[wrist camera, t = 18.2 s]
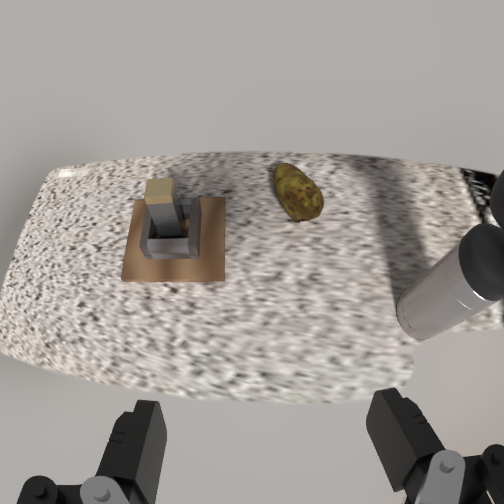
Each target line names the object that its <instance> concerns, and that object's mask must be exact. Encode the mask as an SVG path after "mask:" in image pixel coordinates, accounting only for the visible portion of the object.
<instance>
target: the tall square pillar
mask: <svg viewBox="0 0 504 504" xmlns="http://www.w3.org/2000/svg"><path fill="white" fill-rule="evenodd" d="M144 199H145V201H146V204H147V206H148V209H149V211H150V214H151V217H152V219H153V222H154V224H155V226H156V229H157V231H158V234H159V236H160V239H178V238H185V230H186V227H185V224H184V220H183V216H182V212H181V208H180V204H179V200H178V196H177V192H176V188H175V184H174V180H173V178H160V179H148V180H147V183H146V189H145V195H144Z"/></svg>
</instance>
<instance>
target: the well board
mask: <svg viewBox="0 0 504 504" xmlns="http://www.w3.org/2000/svg"><path fill="white" fill-rule="evenodd" d="M178 200H179V204H180V208H181V212H182V216H183V220H184V224H185V227H186V230H185V238H178V239H160V236H159V234H158V231H157V229H156V226H155V224H154V222H153V219H152V217H151V214H150V211H149V209H148V206H147V204H146V201H145V200H135V205H134V209H133V214H132V219H131V224H130V229H129V234H128V239H127V245H126V251H125V256H124V262H123V269H122V275H121V279H122V281H134V282H194V281H225V197H206V198H178Z"/></svg>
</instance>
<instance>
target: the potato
mask: <svg viewBox="0 0 504 504" xmlns="http://www.w3.org/2000/svg"><path fill="white" fill-rule="evenodd" d="M273 172H274V175H273V178H274V186H275V188H276V191H277V195H278V197H279V199H280V201H281V203H282V204H283V206H284V208H285V210H286V211H287V212H288V214H289V215H290V216H291V217H292V220H293V221H294V222H295V223H297V222H298V223H300V221H309V220H311V219H313V218H316V217H318V216H319V215H320V213H321V211H322V209H323V206H324V199H323V195H322V193H321V191H320V189H319V188H318V187H317V186H316V184H315V183H314V182H313V181H312V180H311V179H310V178H308V177H307V176H306V175H305V174H304V173H303V172H302V171H301V170H300V169H298V168H297V167H295V166H294V165H291V164H288V163H282V164H279V165H278V166H277V167H276V168H275V170H274V171H273Z"/></svg>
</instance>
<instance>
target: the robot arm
mask: <svg viewBox="0 0 504 504" xmlns="http://www.w3.org/2000/svg"><path fill="white" fill-rule="evenodd" d="M490 209H491V212H492V215H493V217H494V218H495V220H496V221H497V223H498V224H499V225H500V227H501V228H499V227H497V226H495V225H492V224H485V223H483V224H478V225H476V226H474V227H473V228H472V229H471V230H470V231H469V232H468V233H467V234H466V235H465V236H464V237H463V238H462V239H461V240H460V241H459V242H458V243H457V244H456V245H455V246H454V247H453V248H452V249H451V250H450V251H449V252H448V253H447V254H446V255H444V256H443V257H442V258H441V259H440V260H439V261H438V262H437V263H436V264H435V265H434V266H433V267H431V268H430V269H429V270H428V271H427V272H426V273H425V274H424V275H423V276H421V277H420V278H419V279H418V280H417V281H416V282H414V283H413V284H412V285H411V286H410V287H409V288H407V289H406V290H405V291H404V292H403V293H402V294H401V296H400V298H399V300H398V304H397V315H398V320H399V322H400V324H401V326H402V328H403V329H404V331H405V332H406V333H407V334H408V335H410V336H411V337H413V338H415V339H419V340H426V339H429V338H431V337H433V336H435V335H437V334H439V333H441V332H444V331H446V330H448V329H449V328H451V327H453V326H455V325H457V324H459V323H461V322H463V321H464V320H466V319H468V318H470V317H472V316H473V315H475V314H477V313H479V312H480V311H482V310H484V309H485V308H487V307H489V306H490V305H492V304H494V303H495V302H497V301H499V300H500V299H502V298H503V297H504V170H503V171H502V173H501V174H500V176H499V177H498V179H497V181H496V182H495V184H494V187H493V189H492V192H491V197H490ZM366 427H367V431H368V433H369V435H370V437H371V440H372V442H373V444H374V447H375V449H376V451H377V454H378V456H379V458H380V460H381V462H382V465H383V467H384V470H385V472H386V474H387V477H388V479H389V481H390V484H391V486H392V488H393V491H394V492H397V491H400V490H403V489H404V490H405V492H406V495H405V497H404V499H403V501H402V504H492V502H491V500H490V498H489V496H488V494H487V493H486V492H487V491H488V492H489V494H490V495H491V497H492V499H493V501H494V503H495V504H504V446H502V445H499V444H494V445H490V446H489V447H487V448H486V449H485V451H484V452H483V454H482V455H476V456H469V457H462V456H461V455H460V454H459V453H457V452H455V451H452V450H446V449H445V448H444V446H443V445H442V443H441V441H440V440H439V438H438V437H437V435H436V434H435V432H434V430H433V429H432V427H431V426H430V424H429V423H427V420H426V418H425V417H424V416H423V414H422V412H421V410H420V409H419V407H418V406H417V405H416V404H415V403H414V402H413V401H411V400H410V399H409V398H407V397H406V398H402V397H401V395H400V393H399V392H398V390H397V389H396V388H389V389H384V390H378V391H376V392H375V393H374V396H373V399H372V402H371V405H370V409H369V412H368V415H367V418H366ZM166 441H167V430H166V425H165V422H164V418H163V414H162V410H161V407H160V404H159V402H158V401H148V400H138V401H137V403H136V405H135V408H134V411H133V412H124V413H123V414H122V415H121V416H120V417H119V418H118V419H117V420H116V422H115V425H114V427H113V430H112V433H111V435H110V438H109V442H108V444H107V446H106V449H105V452H104V454H103V457H102V460H101V463H100V465H99V468H98V471H97V473H96V475H95V476H94V477H91V478H89V479H87V480H86V481H85V482H84V483H83V484H81V485H56V484H55V483H54V482H53V481H52V480H51V479H49V478H48V477H45V476H33V477H31V478H29V479H28V480H27V481H26V482H25V483H24V485H23V488H22V491H21V493H20V496H19V498H18V501H17V504H155V501H156V495H157V489H158V484H159V478H160V473H161V467H162V462H163V457H164V451H165V446H166Z"/></svg>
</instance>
